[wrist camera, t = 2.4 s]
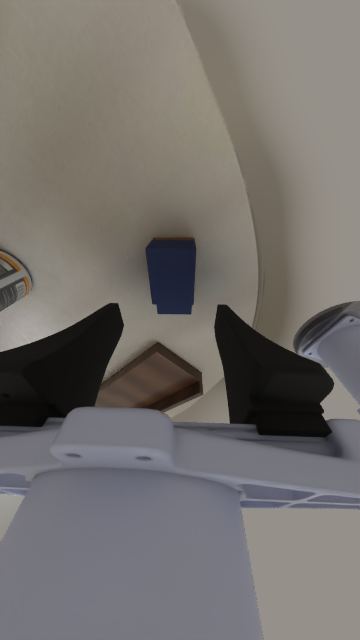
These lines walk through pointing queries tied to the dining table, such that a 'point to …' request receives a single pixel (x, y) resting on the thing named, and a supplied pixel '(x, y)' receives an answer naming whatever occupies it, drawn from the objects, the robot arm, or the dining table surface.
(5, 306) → the pill bottle
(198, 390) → the shelf
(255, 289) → the dining table surface
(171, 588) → the robot arm
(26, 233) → the dining table surface
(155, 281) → the navy block wooden base
